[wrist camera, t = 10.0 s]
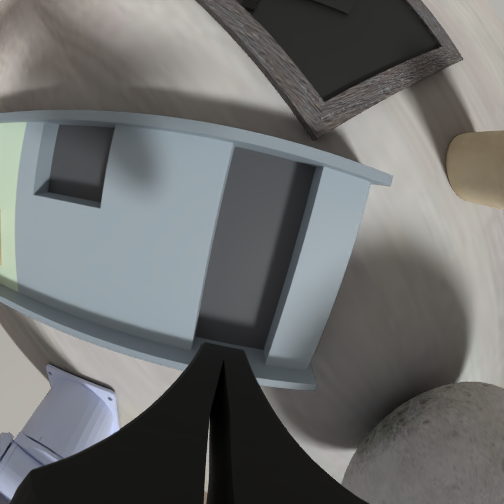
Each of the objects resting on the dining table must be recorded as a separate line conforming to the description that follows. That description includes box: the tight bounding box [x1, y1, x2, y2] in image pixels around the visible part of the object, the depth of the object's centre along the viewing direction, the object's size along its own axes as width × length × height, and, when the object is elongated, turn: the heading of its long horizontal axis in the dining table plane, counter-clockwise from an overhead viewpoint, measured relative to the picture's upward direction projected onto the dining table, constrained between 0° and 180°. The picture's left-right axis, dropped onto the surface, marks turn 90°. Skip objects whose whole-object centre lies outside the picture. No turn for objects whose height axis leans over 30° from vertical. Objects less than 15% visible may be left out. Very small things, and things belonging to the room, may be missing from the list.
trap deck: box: [0, 110, 393, 391], centre depth 15 cm, size 14×31×4 cm, turn 77°
